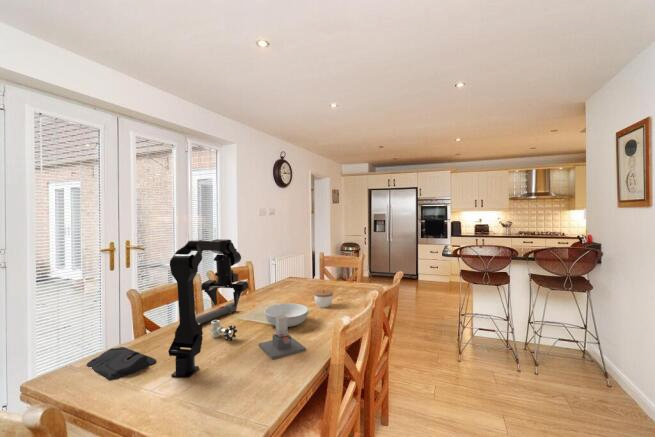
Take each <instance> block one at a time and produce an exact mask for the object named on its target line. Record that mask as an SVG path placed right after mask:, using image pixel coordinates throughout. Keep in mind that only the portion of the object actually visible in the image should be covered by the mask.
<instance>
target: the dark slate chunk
mask: <svg viewBox="0 0 655 437" xmlns="http://www.w3.org/2000/svg"><path fill="white" fill-rule="evenodd" d="M156 363H157V359H156V358H154V357H152V356H149V355H146V354H142V353H140V352H138V351H135V350H133V349H130V348H128V347H124V346H119V347H115V348H114V347H113V348H109V349H108V350H106V351H105V352H103V353H101V354H100V355H99V356H97V357H95V358H92V359H90V360H89V361H88V362H87V363H86V364H87V365H86V367H88V368H89V367H92V369H93V370H94V371H93V370H92V369H91V370H92V371H93V372H94V373H96V374H97V375H99V376H101V377H103V378H104V379H106V380H108V381H110V382H111V381H113V380H116V381H118V380H120V379H122V378H124V377H127V376H129V375H133V374H136V373H139V372H141V371H143V370H145V369H147V368H149V367H151V366H152V365H153V364H156Z"/></svg>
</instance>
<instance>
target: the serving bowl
mask: <svg viewBox="0 0 655 437" xmlns="http://www.w3.org/2000/svg"><path fill="white" fill-rule="evenodd" d="M263 312H264V316H265V319H266V321H267V322H268V323H270V324H271V325H272V326H275V327H276V316H279V315H285V316H287V325H288V327H289V328H290V327H295V326H298V325H300V324H302V323H303V322H304V321H305V320H306V319H307V317H308V314H309V308H308V307H307V306H306V305H303V304H301V303H292V302H290V303H285V302H284V303H278V304H273V305H270V306H268V307H267V308H265V309H264V311H263Z"/></svg>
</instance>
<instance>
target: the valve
mask: <svg viewBox="0 0 655 437" xmlns="http://www.w3.org/2000/svg"><path fill="white" fill-rule="evenodd" d="M236 328H237V327H236V325H232V324H230V325H228V328H224V327H223V326H222V325H221V320H219V319H212V320H211V321H210V332H211V333H210V337H211V338H219V337H220V336H221V335H222V334H223V337H225V342H226V341H227V342H233V338H237V335H236V333H238V329H236Z"/></svg>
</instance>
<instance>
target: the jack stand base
mask: <svg viewBox="0 0 655 437" xmlns="http://www.w3.org/2000/svg"><path fill="white" fill-rule="evenodd" d="M258 346H259V348H260V349H261V350H262V351H263V352H264V353H265V355H267V356H268V357H269V358H270V359H271V360H275V359H279V358H283V357H287V356H291V355H293V354H297V353H300V352H305V351H306V350H307V348H306V347H305V346H304V345H303V344H302V343H300V342H299V341H297V340H296V339H295V338H294V337H292V335H290V334H289V333H288V336H287V337H283V338H278V337H276V333H274V334H272V339H271V340H267V341H263V342H259V343H258Z"/></svg>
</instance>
